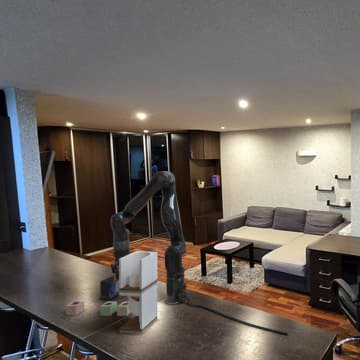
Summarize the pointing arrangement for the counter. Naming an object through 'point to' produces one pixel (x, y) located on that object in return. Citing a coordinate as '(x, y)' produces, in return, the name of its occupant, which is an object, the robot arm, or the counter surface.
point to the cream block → (123, 309)
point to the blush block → (75, 308)
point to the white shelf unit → (139, 289)
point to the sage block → (108, 308)
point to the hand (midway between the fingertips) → (122, 277)
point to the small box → (109, 288)
